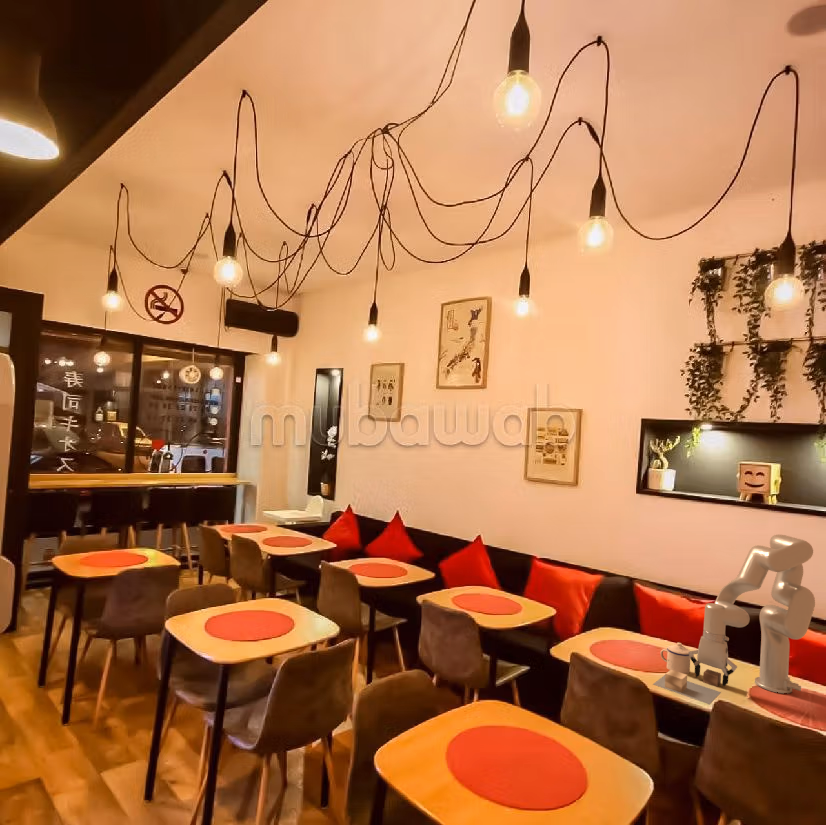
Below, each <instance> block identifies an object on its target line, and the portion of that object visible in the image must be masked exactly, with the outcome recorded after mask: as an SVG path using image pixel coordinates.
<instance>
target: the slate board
mask: <svg viewBox="0 0 826 825" xmlns="http://www.w3.org/2000/svg"><path fill="white" fill-rule="evenodd" d="M652 686H657V687H660V688H662V689H664V690H667V691H670V692H673V693H676V694H679V695H682V696H684V697H686V698H690V699H693V700H696V701H699V702H702V703H704V704H707V705H710V704H711V703H713V701H714V700H716V698H717V697H718V696H719V695H720V694H721V693H722V691H719V690H715V689H713V688H711V687H706V686H703V685H701V684H698V683H695V682H691V681H689V680H687V688H686V689H685V690H684V691H683V692H682V693H681V692H678V691H675V690H672V689H669V688H666V687H665V674H664V675H663V676H662V677H660V678H659V679H658V680H657V681H655V682H654V683H653V684H652Z"/></svg>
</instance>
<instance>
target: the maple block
mask: <svg viewBox="0 0 826 825" xmlns="http://www.w3.org/2000/svg"><path fill="white" fill-rule="evenodd" d="M664 675H665V687H666V688H669V689H672V690H675V691H678V692H681V693H682V692H683V691H684V690H685V689H686V688H687V681H688V674H683V673H680V672H677V671H674V670H668V671H667V672H666V673H665V674H664Z"/></svg>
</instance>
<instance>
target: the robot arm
mask: <svg viewBox="0 0 826 825" xmlns="http://www.w3.org/2000/svg"><path fill="white" fill-rule="evenodd" d="M769 546H770V547H768V546H764V545H755V546H752V547H751V548H750V549H749V551H748V554H747V555H746V557H745V560H744V562H743V564H742V566H741V568H740V570H739V572H738V575H737V577H735V578H734V579H732V580H731V581H729V582H728V583H727V584H725V585H724V586H723V588H722V589H721V590H720V591H719V592H718V595H717V597H716V599H715V600H714V603H713V602H710V603H706V604H705V606H704V617H703V618H704V619H703V631H702V635H701V636H700V640H699V644H698V648H697V649H695V650H690V652H688V653H689V656H690V662H692V663H693V665H694V672H693V673H694V674H695V677H696V678H697V677H699V676H701V675H700V674H701V665H700V664H703V665H706V666H710V667H712V668H714V669H715V668H716V669H719V670H721V671H722V674H723V675H722V680H721V681H722V682H721V685H722V687H725V686H726V685H727V684H729V676H730V675H732V674H733V673H734V672H735V671H736V670H737V669H738V665H736V664H735V663H734V662H733V661H731V660H730V659H729V651H728V642H729V640H730V638H729V637H728V636H726V626H730V627H735V628H744V627H746V626H747V625H749V623H750V619H751V618H750V615H749V613H748V612H747V611H746V610H745V609H744V608H742V607H740V606H738V605H736V604H734V603H735V602H736V600H737V599H738V598H739V597H740V596H741V595H742V594H745V593H747V592H752V591H756V590H759V589H761V587H762V585H763V583H764V581H765V578H766V577H767V574H768V573H769V571H770V572H775V578H774V580H773V584H772V587H771V592H770V595H771V597H772V599H773V600H774V601H775V602H777V603H778V604H781V605H782V606H786V607H788V608H787V609H786V608H784V607H781V606H779V605H773V604H767V605H765V606H763V607H762V608H761V610H760V611H759V612H760V613H759V624H760V631H761V634H760V635H761V636H760V637H761V638H760V639H761V641H760V658H759V659H760V661H759V676H757V677H755V678H754V684H755V685H757V686H759V688H762V689H764V690H766V691H770V692H773V693H777V692H778V694H784V693H787V694H791V693H792V692H793V690H796V691H798V692H801V690H802V686H801V685H799V683H796V682H792V680H791V677H790V676H789V667H790V665H789V662H790V647H791V646H790V645H791V644H790V639H791V640H800V639H802V638H803V637H805V635H806V634H807V632H808V629H809V627H810V623H811V620H812V617H813V613H814V610H815V606H816V599H815V595H814V593H813V592H812V590H810V589H809V588H808V587H806V586H803V585H801V584H802V582H803V577H804V566H803V564H805V563H806V562H808V561H809V560H811V558H812V557H813V556H814V548H813V546H812V544H811V543H810V542H808V541H806V540H805V539H801V538H798V537H792V536H790V535H785V534H774V535H772V536H771V537H770V539H769ZM695 655H697V657H695ZM728 665H729V666H730V667H731V668H730V669H728Z"/></svg>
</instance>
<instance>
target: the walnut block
mask: <svg viewBox="0 0 826 825" xmlns="http://www.w3.org/2000/svg"><path fill="white" fill-rule="evenodd" d="M702 673H703V678H702V683H704V684H707V685H709V686H713V687H715V688H717V687H718V688H719V685H722V682H721V681H722V673H721V672H718V671H714V670H711V669H706V670H704V671H703V672H702Z"/></svg>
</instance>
